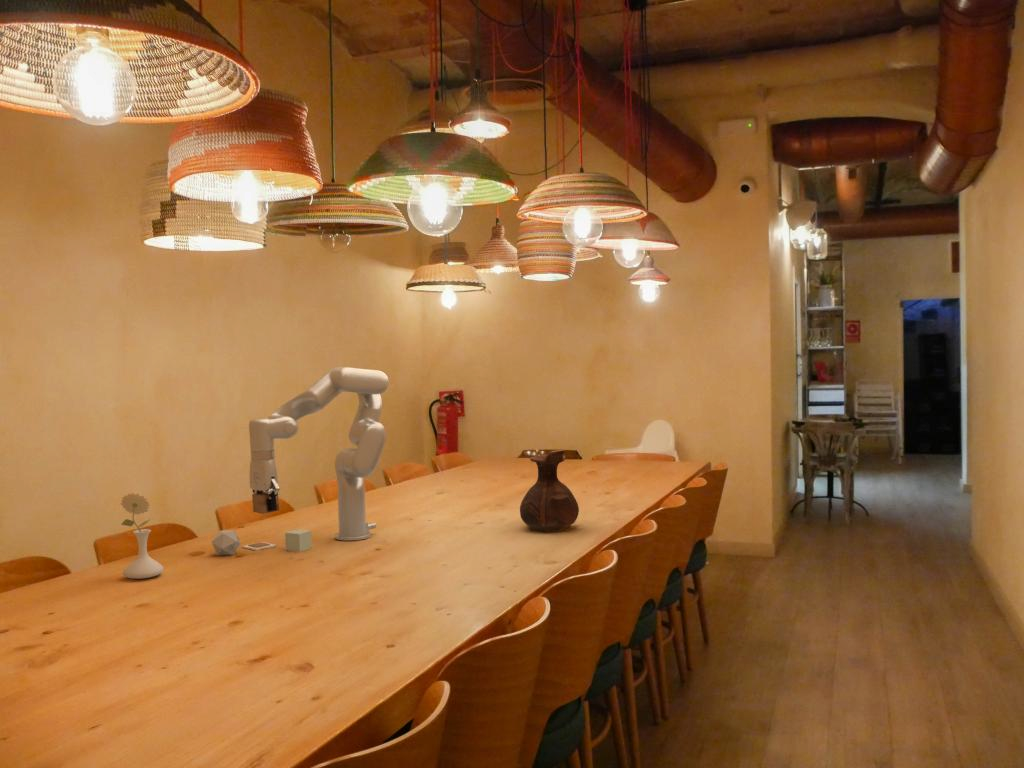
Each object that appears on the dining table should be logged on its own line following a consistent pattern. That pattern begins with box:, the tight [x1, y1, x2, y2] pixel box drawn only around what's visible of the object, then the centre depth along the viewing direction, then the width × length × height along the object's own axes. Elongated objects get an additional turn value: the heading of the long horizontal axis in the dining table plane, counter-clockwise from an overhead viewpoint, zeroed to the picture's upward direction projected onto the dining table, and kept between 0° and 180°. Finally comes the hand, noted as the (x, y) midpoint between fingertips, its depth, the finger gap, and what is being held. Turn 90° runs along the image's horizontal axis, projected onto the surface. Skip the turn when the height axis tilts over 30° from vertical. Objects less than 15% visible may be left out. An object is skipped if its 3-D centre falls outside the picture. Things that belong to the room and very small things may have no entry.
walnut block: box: [251, 491, 280, 515], centre depth 296 cm, size 6×6×6 cm
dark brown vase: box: [519, 449, 580, 532], centre depth 325 cm, size 22×22×30 cm
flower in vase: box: [120, 492, 165, 580], centre depth 265 cm, size 13×11×25 cm
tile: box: [241, 541, 277, 551], centre depth 304 cm, size 8×8×1 cm
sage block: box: [284, 529, 312, 553], centre depth 299 cm, size 6×6×6 cm
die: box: [211, 529, 242, 556], centre depth 293 cm, size 8×9×10 cm
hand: (266, 509), depth 296 cm, fingers closed on walnut block, 6 cm apart
